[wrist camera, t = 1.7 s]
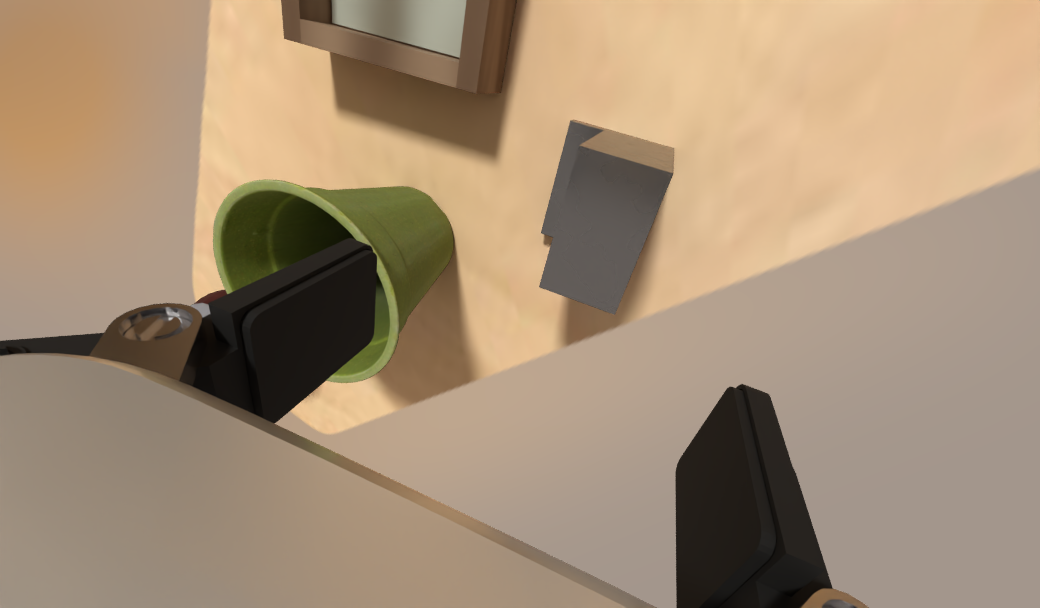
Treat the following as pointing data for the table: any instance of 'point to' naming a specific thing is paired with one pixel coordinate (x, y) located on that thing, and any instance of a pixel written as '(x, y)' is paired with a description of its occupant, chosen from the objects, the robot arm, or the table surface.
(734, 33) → the table surface
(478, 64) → the square wooden tray
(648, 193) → the grey block
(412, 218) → the plant pot
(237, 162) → the table surface
